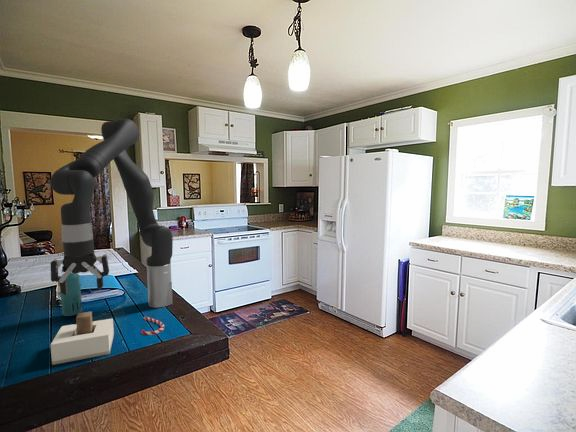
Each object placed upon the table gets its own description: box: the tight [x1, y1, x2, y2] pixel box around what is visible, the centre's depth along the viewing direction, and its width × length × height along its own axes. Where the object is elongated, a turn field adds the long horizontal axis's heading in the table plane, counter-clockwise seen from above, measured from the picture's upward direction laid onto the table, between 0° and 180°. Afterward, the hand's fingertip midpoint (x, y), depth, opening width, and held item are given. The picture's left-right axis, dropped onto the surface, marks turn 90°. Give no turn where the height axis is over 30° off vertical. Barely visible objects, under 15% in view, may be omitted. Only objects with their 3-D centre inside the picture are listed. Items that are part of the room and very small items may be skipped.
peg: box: [75, 311, 93, 335], centre depth 94 cm, size 4×4×10 cm
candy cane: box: [140, 316, 165, 336], centre depth 110 cm, size 8×1×15 cm
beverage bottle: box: [60, 265, 83, 317], centre depth 116 cm, size 6×7×20 cm
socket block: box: [50, 318, 115, 366], centre depth 94 cm, size 14×12×6 cm
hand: (82, 291), depth 92 cm, fingers open, 8 cm apart
